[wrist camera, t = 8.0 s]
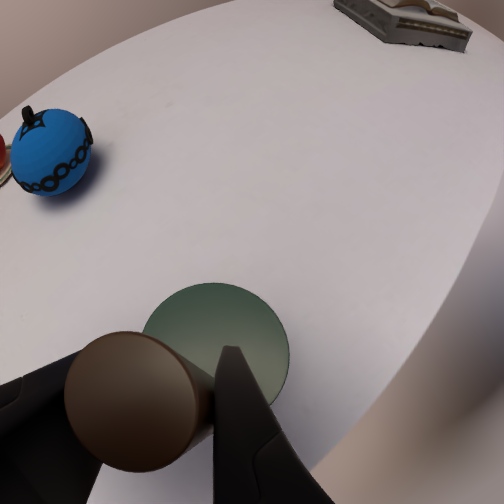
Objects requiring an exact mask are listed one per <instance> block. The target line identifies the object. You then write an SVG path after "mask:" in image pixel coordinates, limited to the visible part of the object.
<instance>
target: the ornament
mask: <svg viewBox="0 0 504 504" xmlns="http://www.w3.org/2000/svg"><path fill="white" fill-rule="evenodd" d="M22 117H23V120H24V122H23V124H22V126H21V127H20V128H19V130H18V131H17V133H16V135H15V137H14V140H13V142H12V146H11V152H10V162H11V167H12V170H11V174H12V176H13V178H14V179H15V181H16V182H17V183H18V184H19V185H20V186H21V187H22V188H23V189H24V190H25V191H27V192H29V193H33V194H36V195H40V196H53V195H58V194H61V193H63V192H65V191H67V190H68V189H70V188H71V187H72V186H74V185H75V184H76V183H77V182H78V181H79V180H80V178H81V177H82V176H83V174H84V172H85V170H86V168H87V166H88V163H89V160H90V154H91V145H92V144H93V138H92V134H91V131H90V129H89V127H88V126H87V124H86V122H85V121H84V119H83V118H82V117H81V118H78V117H77V116H75V115H74V114H72V113H70V112H68V111H65V110H61V109H47V110H43V111H41V112H38V113H36V114H34V113H33V110H32V108H31V107H30V106H29V105H28V106H26V107H24V108H23V109H22Z"/></svg>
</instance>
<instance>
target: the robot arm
mask: <svg viewBox="0 0 504 504" xmlns="http://www.w3.org/2000/svg"><path fill="white" fill-rule="evenodd" d="M81 351H82V350H80V351H77V352H75V353H73V354H71V355H69V356H66V357H64V358H62V359H60V360H57V361H55V362H53V363H51V364H49V365H46V366H44V367H42V368H40V369H37V370H35V371H33V372H31V373H28V374H26V375H24V376H23V378H22V377H19V378H17V379H15V380H12V381H10V382H8V383H5V384H3V385H0V504H86V503H87V500H88V498H89V495H90V493H91V490H92V488H93V485H94V483H95V481H96V478H97V476H98V473H99V471H100V468H101V466H102V464H103V462H101V461H99V460H98V459H97V458H95V457H94V456H92V455H91V454H90V453H89V452H88V451H87V450H86V449H85V448H84V447H83V445H82V444H81V443H80V442H79V440H78V439H77V437H76V436H75V434H74V432H73V430H72V428H71V426H70V424H69V421H68V418H67V414H66V410H65V403H64V389H65V382H66V378H67V374H68V372H69V369H70V367H71V365H72V363H73V361H74V359H75V358H76V357H77V355H78V354H79V353H80V352H81ZM213 504H335V503H334V502H333V501H332V500H331V498H330V497H329V496H328V495H327V494H326V493H325V491H324V490H323V489H322V488H321V486H320V485H319V484H318V483H317V482H316V480H315V479H314V478H313V477H312V475H311V474H310V473H309V471H308V470H307V469H306V467H305V466H304V465H303V463H302V462H301V461H300V459H299V458H298V456H297V454H296V453H295V451H294V449H293V448H292V446H291V444H290V443H289V441H288V439H287V437H286V435H285V434H284V432H283V431H282V428H281V427H280V425H279V423H278V421H277V419H276V417H275V415H274V413H273V412H272V410H271V408H270V406H269V404H268V402H267V400H266V398H265V396H264V394H263V392H262V390H261V388H260V386H259V385H258V383H257V381H256V379H255V377H254V375H253V373H252V371H251V369H250V367H249V365H248V363H247V361H246V359H245V357H244V355H243V353H242V351H241V349H240V347H238V346H229V345H225V346H223V349H222V352H221V355H220V358H219V361H218V364H217V368H216V372H215V381H214V424H213Z"/></svg>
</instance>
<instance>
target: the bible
mask: <svg viewBox="0 0 504 504" xmlns="http://www.w3.org/2000/svg"><path fill="white" fill-rule="evenodd" d="M333 3H334V6H335V7H336V8H337V9H340V11H341V12H343V13H345V14H347V15H348V16H349V17H351V18H352V20H354V21H355V22H357V23H358V24H360V25H361V26H363V27H364V28H365V29H367V30H368V31H370V32H371V33H372V34H373V35H374V36H376V37H378V38H379V39H381V40H382V41H383V42H391V43H402V42H403V43H406V44H408V45H411V44H414V45H418V44H419V42H421V43H423V45H425V46H433V45H435V46H439V45H442V46H444V48H446V49H450V50H454V51H459V52H462V53H464V51H465V48H466V45H467V43H468V41H469V38H470V36H471V35H472V33H473V31H472V30H470V29H469V28H468V27H466V26H465V25H464V24H462V23H461V22H459V21H458V16H457V13H456V12H454V11H452V10H450V9H448V8H446V7H444V6H442V5H440V4H439V3H437V2H435V1H434V0H334V1H333Z"/></svg>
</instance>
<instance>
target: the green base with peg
mask: <svg viewBox="0 0 504 504" xmlns="http://www.w3.org/2000/svg"><path fill="white" fill-rule="evenodd" d="M225 345H229V346H238V347H240V349H241V351H242V353H243V355H244V357H245V359H246V361H247V363H248V365H249V367H250V369H251V371H252V373H253V375H254V377H255V379H256V381H257V383H258V385H259V386H260V388H261V390H262V392H263V394H264V396H265V398H266V400H267V402H268V404H269V406H270V405H271V404H272V403H273V402H274V401H275V399H276V398H277V396H278V395H279V393H280V392H281V390H282V387H283V385H284V383H285V380H286V377H287V374H288V368H289V358H290V353H289V344H288V340H287V336H286V333H285V330H284V328H283V325H282V323H281V322H280V320H279V318H278V317H277V315H276V314H275V313H274V311H273V310H272V309H271V308H270V307H269V306H268V305H267V304H266V303H265V302H264V301H263V300H262V299H260V298H259V297H258V296H256V295H255V294H253V293H251V292H250V291H247V290H245V289H243V288H240V287H237V286H234V285H230V284H224V283H203V284H198V285H194V286H190V287H187V288H185V289H182V290H180V291H178V292H176V293H175V294H173V295H171V296H170V297H169V298H167V299H166V300H165V301H163V302H162V303H161V304H160V305H159V306H158V307H157V308H156V310H155V311H154V312H153V314H152V315H151V316H150V318H149V320H148V321H147V323H146V325H145V327H144V330H143V332H142V333H140V332H133V331H120V332H113V333H110V334H106V335H104V336H101V337H99V338H97V339H95V340H94V341H92V342H91V343H89V344H88V345H87V346H86V347H84V348H83V349H82V351H81V352H80V353H79V354H78V355H77V357H76V358H75V359H74V361H73V363H72V365H71V367H70V369H69V372H68V374H67V378H66V382H65V389H64V403H65V410H66V414H67V418H68V421H69V424H70V426H71V428H72V430H73V432H74V434H75V436H76V437H77V439H78V440H79V442H80V443H81V444H82V445H83V447H84V448H85V449H86V450H87V451H88V452H89V453H90V454H91V455H92V456H94V457H95V458H97V459H98V460H99V461H101V462H103V463H104V464H106V465H108V466H110V467H113V468H115V469H118V470H122V471H125V472H133V473H145V472H151V471H155V470H158V469H161V468H164V467H166V466H168V465H170V464H171V463H173V462H174V461H175V460H177V459H178V458H180V457H181V456H182V455H184V454H185V453H187V452H188V451H189V450H191V449H192V448H193V447H195V446H196V445H197V444H199V443H200V442H201V441H203V440H204V439H205V438H207V437H208V436H209V435H211V434H212V433H213V424H214V381H215V372H216V368H217V364H218V361H219V358H220V355H221V352H222V349H223V346H225Z"/></svg>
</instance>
